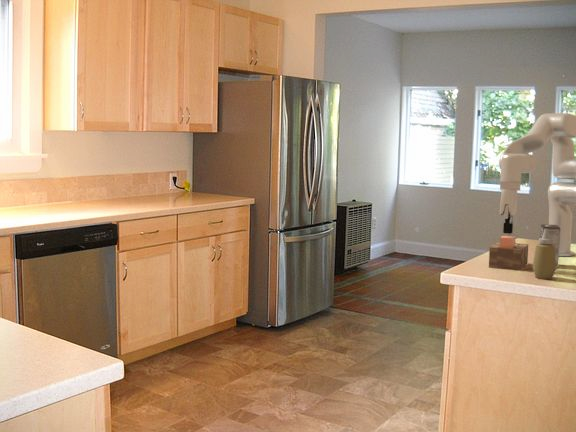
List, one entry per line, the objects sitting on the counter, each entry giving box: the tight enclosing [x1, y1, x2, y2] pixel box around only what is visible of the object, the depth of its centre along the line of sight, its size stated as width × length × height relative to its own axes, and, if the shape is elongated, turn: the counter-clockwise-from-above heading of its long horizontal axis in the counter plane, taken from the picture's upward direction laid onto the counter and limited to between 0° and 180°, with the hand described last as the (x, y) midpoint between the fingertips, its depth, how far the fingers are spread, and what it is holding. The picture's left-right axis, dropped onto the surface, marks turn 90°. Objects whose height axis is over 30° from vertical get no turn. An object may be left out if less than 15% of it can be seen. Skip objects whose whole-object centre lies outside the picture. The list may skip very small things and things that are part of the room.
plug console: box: [488, 241, 529, 271], centre depth 286 cm, size 16×12×8 cm
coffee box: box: [539, 223, 560, 269], centre depth 287 cm, size 9×6×16 cm
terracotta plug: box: [499, 235, 516, 249], centre depth 282 cm, size 5×5×6 cm
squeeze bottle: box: [532, 229, 557, 280], centre depth 262 cm, size 8×8×18 cm
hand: (507, 233), depth 282 cm, fingers closed
